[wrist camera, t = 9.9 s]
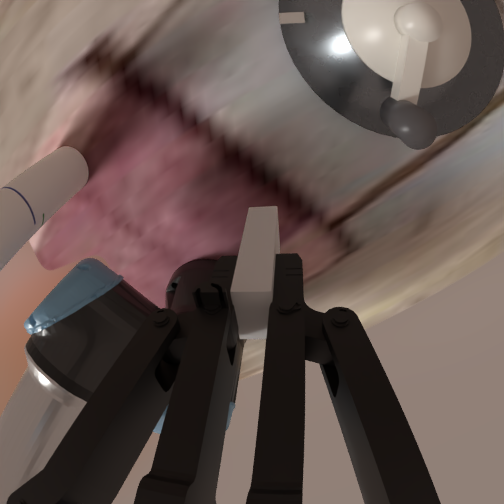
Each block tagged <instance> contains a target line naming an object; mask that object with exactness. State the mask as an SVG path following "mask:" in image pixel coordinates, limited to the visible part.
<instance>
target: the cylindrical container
mask: <svg viewBox="0 0 504 504" xmlns="http://www.w3.org/2000/svg"><path fill="white" fill-rule="evenodd" d="M88 175H89V172H88V166H87V163H86V161H85V159H84V157H83V156H82V154H81V153H80V152H79V151H78V150H76V149H75V148H72V147H70V146H63V147H60V148H58V149H57V150H55V151H54V152H52V153H50V154H49V155H47V156H46V157H44V158H43V159H41V160H40V161H38V162H37V163H35V164H34V165H33V166H31V167H30V168H28V169H27V170H25V171H24V172H23V173H21V174H20V175H19V176H17V177H16V178H14V179H13V180H12V181H10V182H9V183H8V184H7V185H5V186H4V187H3V188H1V189H0V271H1V270H2V269H3V268H4V266H5V265H6V264H7V263H8V262H9V261H10V260H11V258H12V257H13V256H14V255H15V254H16V253H17V252H18V251H19V249H21V248H22V246H23V245H24V244H25V243H26V242H27V241H28V240H29V239H30V238H31V237H32V236H33V235H34V234H35V233H36V232H37V231H38V230H39V229H40V228H41V227H42V226H43V225H44V224H45V223H46V222H47V221H48V220H49V219H50V218H51V217H52V216H53V215H54V214H55V213H56V212H57V211H58V210H59V209H60V208H61V207H62V206H63V205H64V204H65V203H66V202H67V201H69V200H70V199H71V198H72V197H73V196H74V195H75V194H76V193H77V192H78V191H80V190H81V189H82V188H83V187H84V186H85V184H86V183H87V180H88Z"/></svg>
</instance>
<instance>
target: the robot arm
mask: <svg viewBox="0 0 504 504" xmlns="http://www.w3.org/2000/svg"><path fill="white" fill-rule="evenodd" d="M123 278H124V277H123V276H121V275H117V274H116V273H115V272H113V271H112V270H111V269H109V268H108V267H107V266H105V265H104V264H103V263H102V262H100V261H99V260H97V259H94V258H87V259H84V260H82V261H80V262H79V263H78V264H77V265H76V266H75V267H74V268H73V269H72V270H71V271H70V272H69V273H68V274H67V275H66V276H65V277H64V278H63V279H62V280H61V281H60V282H59V283H58V285H57V286H56V287H55V288H54V289H53V290H52V291H51V292H50V293H49V294H48V295H47V296H46V298H45V299H44V300H43V301H42V302H41V303H40V304H39V306H38V307H37V308H36V309H35V310H34V312H33V313H32V314H31V315H30V317H29V318H28V319H27V320H26V321H25V323H24V327H25V328H26V329H27V333H29V334H32V335H31V337H30V338H29V340H28V342H27V343H26V345H25V348H24V349H25V354H26V358H27V362H28V367H27V369H26V371H25V373H24V374H23V376H22V378H21V380H20V381H19V383H18V385H17V387H16V389H15V390H14V392H13V394H12V396H11V398H10V400H9V402H8V403H7V405H6V408H5V409H4V411H3V413H2V415H1V417H0V504H111V503H112V502H113V500H114V499H115V497H116V496H117V494H118V492H119V490H120V488H121V487H122V485H123V483H124V481H125V480H126V478H127V476H128V474H129V473H130V471H131V469H132V467H133V465H134V464H135V462H136V460H137V459H138V457H139V455H140V453H141V451H142V450H143V448H144V446H145V444H146V443H147V441H148V439H149V437H150V436H151V434H152V432H156V433H159V434H160V437H159V441H158V445H157V449H156V453H155V457H154V461H153V465H152V468H151V471H150V472H149V474H147V475H146V476H144V477H143V478H142V480H141V481H140V483H139V486H138V489H137V493H136V497H135V501H134V504H216V500H215V496H216V488H217V482H218V475H219V469H220V463H221V457H222V450H223V444H224V438H225V431H226V430H227V429H228V427H229V423H230V420H231V416H232V412H233V409H234V408H235V400H236V393H237V387H238V380H239V374H240V367H241V361H242V354H243V348H244V344H245V342H246V340H247V339H266V349H265V359H264V370H263V380H262V391H261V400H260V410H259V419H258V429H257V438H256V448H255V456H254V465H253V474H252V482H251V487H250V490H249V492H248V496H247V501H246V504H302V488H303V463H304V430H305V360H308V361H312V362H315V363H319V364H320V368H321V370H322V374H323V376H324V380H325V382H326V385H327V388H328V391H329V394H330V397H331V400H332V403H333V406H334V409H335V412H336V415H337V418H338V421H339V424H340V427H341V430H342V433H343V437H344V440H345V443H346V446H347V449H348V452H349V455H350V458H351V461H352V465H353V468H354V471H355V474H356V477H357V481H358V484H359V487H360V490H361V493H362V496H363V500H364V503H365V504H441V503H440V501H439V498H438V496H437V493H436V490H435V487H434V485H433V482H432V480H431V477H430V474H429V472H428V469H427V467H426V464H425V462H424V459H423V457H422V454H421V452H420V450H419V447H418V445H417V442H416V440H415V438H414V435H413V433H412V431H411V428H410V426H409V424H408V421H407V419H406V417H405V415H404V412H403V410H402V408H401V406H400V403H399V401H398V399H397V397H396V395H395V392H394V390H393V388H392V386H391V384H390V382H389V379H388V377H387V375H386V373H385V371H384V369H383V367H382V365H381V363H380V360H379V358H378V356H377V354H376V352H375V350H374V348H373V346H372V344H371V342H370V340H369V338H368V336H367V334H366V332H365V330H364V328H363V326H362V324H361V322H360V320H359V318H358V316H357V315H356V314H355V312H354V311H352V310H350V309H348V308H344V307H335V308H332V309H329V310H328V311H327V312H326V313H322V312H318V311H315V310H313V309H311V308H309V307H308V306H307V305H306V303H305V302H304V295H303V269H302V259H301V258H300V257H299V255H298V254H297V253H295V254H280V239H279V224H278V210H277V206H267V207H249V209H248V214H247V218H246V223H245V227H244V232H243V236H242V240H241V245H240V249H239V254H238V256H222V257H221V258H220V259H219V260H218V261H216V260H197V261H192V262H189V263H186V264H184V265H182V266H181V267H179V268H178V269H177V270H176V271H175V272H174V274H173V275H172V277H171V279H170V281H169V284H168V286H167V289H166V308H162V309H160V308H158V307H157V306H156V305H155V304H153V303H152V302H151V301H149V300H148V299H147V298H146V297H144V296H143V295H142V294H141V293H139V292H138V291H137V290H136V289H134V288H133V287H132V286H131V285H129V284H128V283H127V282H126V281H125V280H123Z"/></svg>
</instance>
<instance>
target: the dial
mask: <svg viewBox="0 0 504 504" xmlns="http://www.w3.org/2000/svg"><path fill="white" fill-rule="evenodd" d="M341 19H342V25H343V29H344V32H345V35H346V38H347V40H348V42H349V44H350V46H351V47H352V49H353V50H354V52H355V53H356V55H357V56H358V57H359V58H360V59H361V61H362V62H363V63H364V64H365V65H367V66H368V67H369V68H370V69H371V70H372V71H374V72H375V73H377V74H378V75H380V76H381V77H383V78H385V79H387V80H389V81H391V82H393V86H392V91H391V96H390V97H389V98H387V99H385V100H384V102H383V103H382V105H381V107H380V117H381V119H382V121H383V123H384V124H385V125H386V126H387V127H388V128H389V129H390V130H391V131H392V132H393V133H395V134H396V135H397V136H398V137H399V138H400V139H401V140H402V141H403V142H404V143H405V144H406V145H407V146H408V147H410V148H412V149H417V150H420V149H424V148H427V147H428V146H430V145H431V144H432V143H433V142H434V140H435V138H436V135H437V124H436V121H435V119H434V117H433V116H432V115H431V114H430V113H429V112H427V111H426V110H424V109H422V108H421V107H419V106H417V101H418V97H419V92H420V88H430V87H435V86H439V85H442V84H444V83H446V82H448V81H449V80H451V79H452V78H454V77H455V76H456V75H457V74H458V73H459V72H460V70H461V69H462V68H463V66H464V65H465V63H466V61H467V58H468V56H469V53H470V48H471V28H470V22H469V19H468V16H467V13H466V11H465V8H464V6H463V5H462V3H461V1H460V0H342V4H341Z"/></svg>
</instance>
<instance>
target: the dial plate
mask: <svg viewBox="0 0 504 504" xmlns="http://www.w3.org/2000/svg"><path fill="white" fill-rule="evenodd" d="M460 1H461V3H462V5H463V6H464V8H465V11H466V13H467V16H468V19H469V22H470V28H471V48H470V53H469V56H468V58H467V61H466V63H465V65H464V66H463V68H462V69H461V70H460V72H459V73H458V74H457V75H456V76H455V77H454V78H452V79H451V80H449V81H448V82H446V83H444V84H442V85H439V86H435V87H430V88H420V92H419V97H418V101H417V106H419V107H421V108H422V109H424V110H426V111H427V112H429V113H430V114H431V115H432V116H433V117H434V119H435V121H436V124H437V135H436V136H440V135H444V134H447V133H450V132H452V131H454V130H457V129H459V128H461V127H462V126H464V125H465V124H467V123H469V122H470V121H471V120H473V119H474V118H475V117H476V116H477V115H479V114H480V112H481V111H482V110H483V109H484V108H485V107H486V106H487V104H488V103H489V101H490V100H491V98H492V97H493V95H494V93H495V91H496V89H497V87H498V85H499V82H500V79H501V76H502V73H503V68H504V30H503V25H502V20H501V17H500V14H499V11H498V8H497V6H496V3H495V1H494V0H460ZM341 4H342V0H279V20H280V24H281V30H282V35H283V38H284V41H285V44H286V47H287V49H288V52H289V54H290V56H291V58H292V60H293V62H294V64H295V66H296V67H297V69H298V70H299V72H300V74H301V75H302V77H303V78H304V79H305V81H306V82H307V83H308V84H309V86H310V87H311V88H312V89H313V91H314V92H315V93H316V94H317V95H318V96H319V97H320V98H321V99H322V100H323V101H324V102H325V103H327V104H328V105H329V106H330V107H332V108H333V109H334V110H335V111H336V112H338V113H339V114H341V115H342V116H344V117H345V118H347V119H349V120H350V121H352V122H354V123H356V124H358V125H360V126H362V127H364V128H366V129H369V130H371V131H374V132H377V133H380V134H384V135H388V136H392V137H398V136H397V135H396V134H395V133H393V132H392V131H391V130H390V129H389V128H388V127H387V126H386V125H385V124H384V123H383V121H382V119H381V117H380V107H381V105H382V103H383V102H384V100H385V99H387V98H389V97H390V96H391V91H392V86H393V82H391V81H389V80H387V79H385V78H383V77H381V76H380V75H378V74H377V73H375V72H374V71H372V70H371V69H370V68H369V67H368V66H367V65H365V64H364V63H363V62H362V61H361V59H360V58H359V57H358V56H357V55H356V53H355V52H354V50H353V49H352V47H351V46H350V44H349V42H348V40H347V38H346V35H345V32H344V29H343V25H342V19H341ZM398 138H399V137H398Z"/></svg>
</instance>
